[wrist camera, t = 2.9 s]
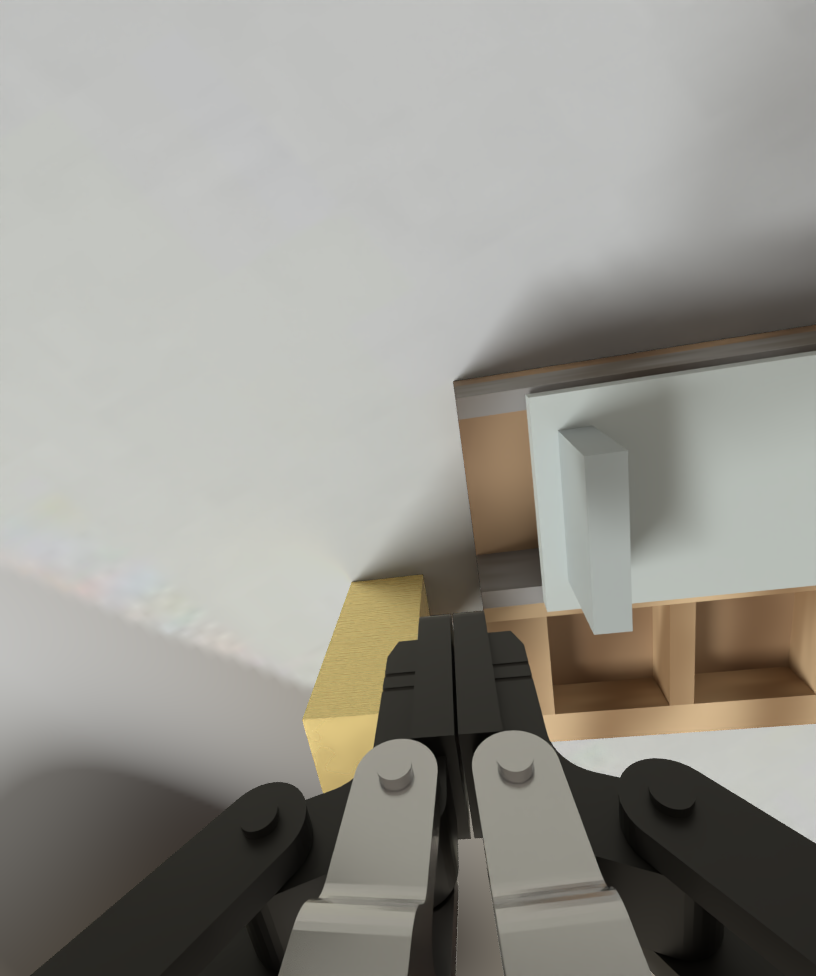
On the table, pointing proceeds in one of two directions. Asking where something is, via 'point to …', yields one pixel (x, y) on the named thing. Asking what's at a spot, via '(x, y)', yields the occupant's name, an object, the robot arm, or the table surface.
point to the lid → (675, 486)
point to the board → (573, 632)
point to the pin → (359, 672)
